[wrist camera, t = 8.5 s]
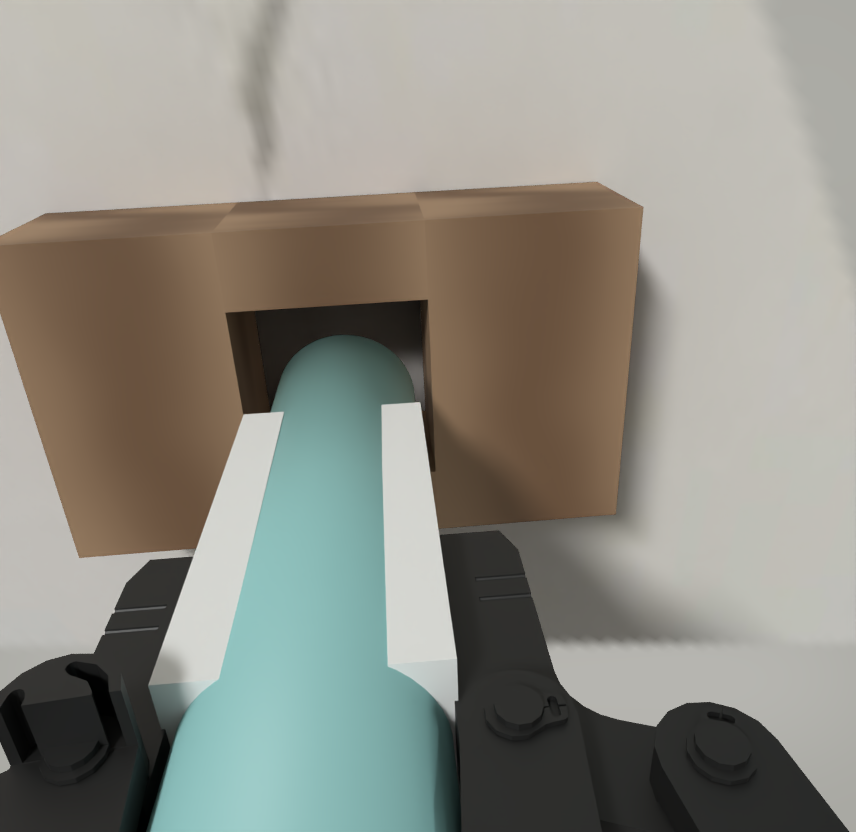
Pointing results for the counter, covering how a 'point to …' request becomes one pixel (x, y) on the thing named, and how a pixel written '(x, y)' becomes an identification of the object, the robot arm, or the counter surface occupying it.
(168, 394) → the hole block
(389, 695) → the peg
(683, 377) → the counter surface
